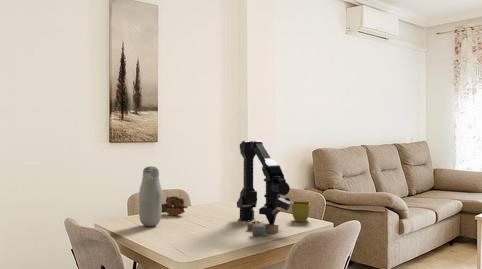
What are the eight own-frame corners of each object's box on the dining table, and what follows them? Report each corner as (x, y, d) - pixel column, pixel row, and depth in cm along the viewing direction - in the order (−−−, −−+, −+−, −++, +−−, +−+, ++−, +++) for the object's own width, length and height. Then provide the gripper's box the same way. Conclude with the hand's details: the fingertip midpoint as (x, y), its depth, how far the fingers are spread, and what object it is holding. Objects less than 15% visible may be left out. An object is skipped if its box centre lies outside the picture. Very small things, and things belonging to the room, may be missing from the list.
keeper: (251, 234, 177) (251, 224, 177) (264, 233, 177) (264, 224, 177) (252, 236, 172) (252, 226, 172) (265, 236, 173) (265, 226, 173)
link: (247, 229, 185) (247, 223, 185) (254, 227, 189) (254, 221, 189) (272, 234, 177) (272, 227, 177) (279, 231, 181) (279, 224, 181)
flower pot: (309, 223, 198) (309, 204, 198) (291, 222, 200) (291, 204, 200) (310, 219, 207) (310, 201, 207) (292, 218, 209) (292, 201, 209)
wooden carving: (157, 215, 218) (157, 196, 218) (161, 213, 222) (161, 195, 222) (185, 217, 212) (185, 197, 212) (189, 215, 217) (189, 196, 217)
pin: (254, 229, 186) (254, 220, 185) (255, 228, 187) (255, 219, 187) (257, 229, 185) (257, 220, 185) (259, 228, 186) (259, 220, 186)
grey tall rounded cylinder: (135, 227, 189) (135, 166, 188) (147, 223, 198) (147, 165, 198) (153, 229, 185) (153, 167, 185) (165, 224, 195) (165, 165, 195)
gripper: (283, 196, 172) (283, 233, 172) (294, 190, 189) (294, 223, 189) (258, 194, 176) (258, 231, 176) (271, 189, 193) (272, 221, 194)
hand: (272, 226), depth 184 cm, fingers closed
